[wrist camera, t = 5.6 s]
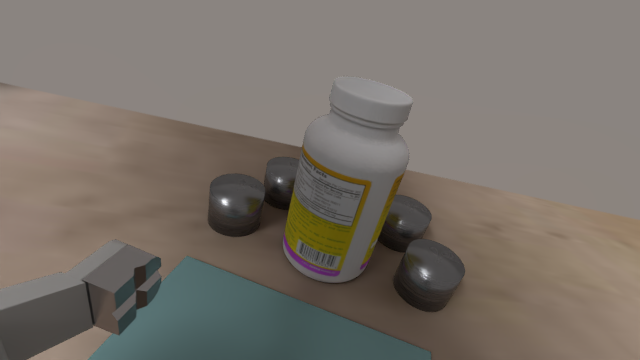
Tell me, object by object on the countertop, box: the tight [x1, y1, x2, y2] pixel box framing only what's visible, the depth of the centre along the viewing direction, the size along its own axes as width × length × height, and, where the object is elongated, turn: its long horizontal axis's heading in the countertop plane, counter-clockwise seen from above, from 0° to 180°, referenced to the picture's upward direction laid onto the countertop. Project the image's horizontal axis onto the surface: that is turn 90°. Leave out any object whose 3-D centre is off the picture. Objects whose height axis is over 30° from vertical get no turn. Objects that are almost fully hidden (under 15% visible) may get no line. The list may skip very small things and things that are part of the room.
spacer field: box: [208, 157, 465, 312], centre depth 28 cm, size 19×12×3 cm, turn 74°
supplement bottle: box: [283, 76, 413, 283], centre depth 22 cm, size 7×7×13 cm
